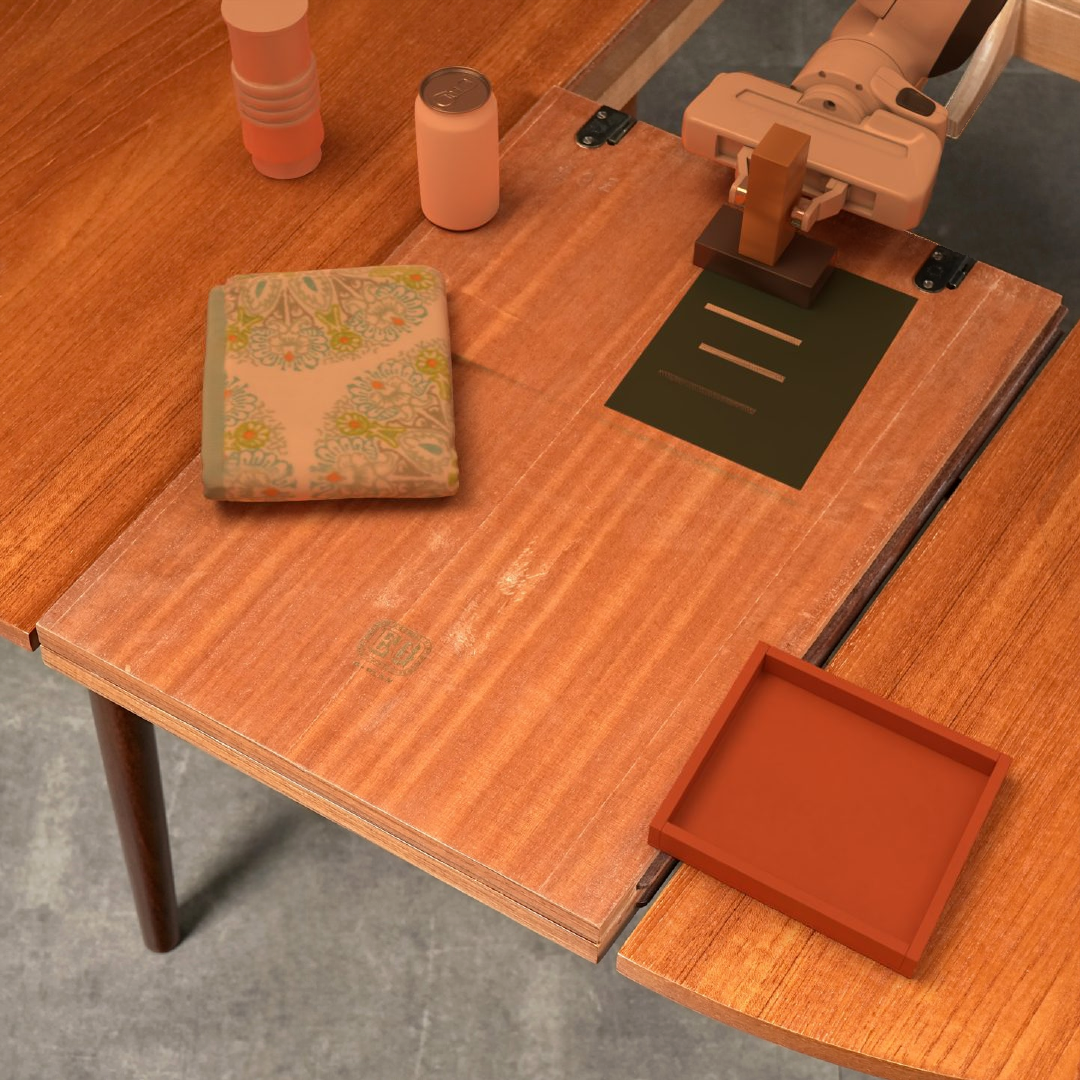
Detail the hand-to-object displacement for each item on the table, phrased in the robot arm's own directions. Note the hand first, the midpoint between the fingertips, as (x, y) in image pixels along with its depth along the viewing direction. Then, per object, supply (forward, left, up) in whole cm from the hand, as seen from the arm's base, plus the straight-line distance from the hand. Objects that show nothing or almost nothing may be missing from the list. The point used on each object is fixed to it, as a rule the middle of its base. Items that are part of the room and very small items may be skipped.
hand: (767, 211), depth 128 cm
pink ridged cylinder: (+41, +6, -8) cm, 42 cm away
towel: (+22, +27, -8) cm, 36 cm away
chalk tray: (-24, +40, -8) cm, 47 cm away
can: (+25, +4, -8) cm, 27 cm away
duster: (0, -1, -7) cm, 7 cm away
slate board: (-4, +7, -8) cm, 11 cm away
